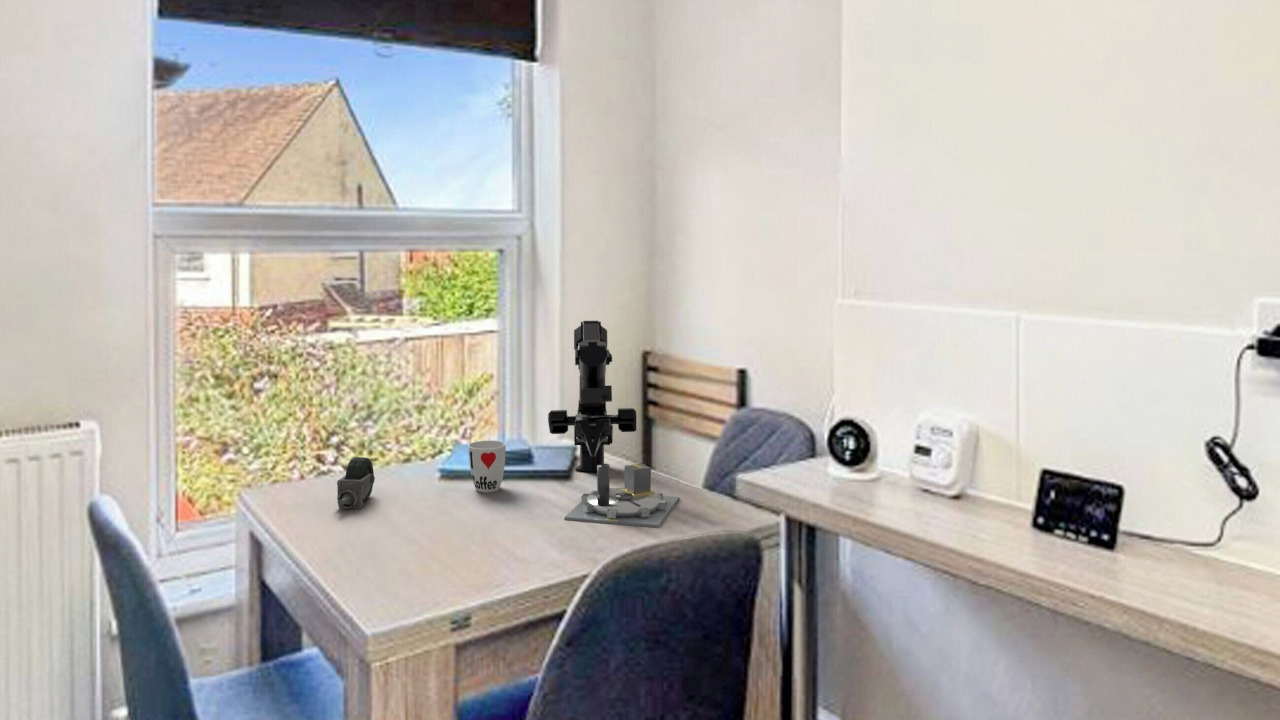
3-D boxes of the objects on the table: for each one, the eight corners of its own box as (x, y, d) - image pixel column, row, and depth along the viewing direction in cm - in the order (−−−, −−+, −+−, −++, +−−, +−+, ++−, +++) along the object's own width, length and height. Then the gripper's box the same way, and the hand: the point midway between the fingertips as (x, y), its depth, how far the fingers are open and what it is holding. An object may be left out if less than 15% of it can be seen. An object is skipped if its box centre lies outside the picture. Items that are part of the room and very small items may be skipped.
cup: (462, 492, 195) (461, 447, 194) (479, 482, 203) (478, 439, 202) (496, 496, 193) (495, 450, 192) (512, 485, 201) (511, 441, 199)
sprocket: (566, 500, 187) (565, 455, 186) (639, 488, 196) (640, 445, 195) (605, 524, 172) (605, 475, 171) (683, 510, 181) (684, 464, 180)
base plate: (593, 492, 196) (593, 489, 196) (679, 499, 191) (679, 496, 191) (564, 519, 178) (564, 516, 178) (658, 527, 173) (658, 524, 173)
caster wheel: (354, 498, 194) (327, 513, 179) (354, 453, 194) (327, 465, 179) (380, 499, 194) (355, 514, 179) (380, 454, 194) (355, 465, 179)
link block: (624, 488, 190) (624, 465, 189) (641, 486, 192) (641, 462, 191) (634, 493, 186) (634, 469, 186) (650, 491, 188) (650, 467, 188)
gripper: (546, 373, 191) (545, 437, 182) (635, 371, 192) (637, 434, 183) (550, 402, 200) (549, 464, 191) (635, 399, 201) (637, 461, 192)
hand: (593, 455), depth 189 cm, fingers closed
